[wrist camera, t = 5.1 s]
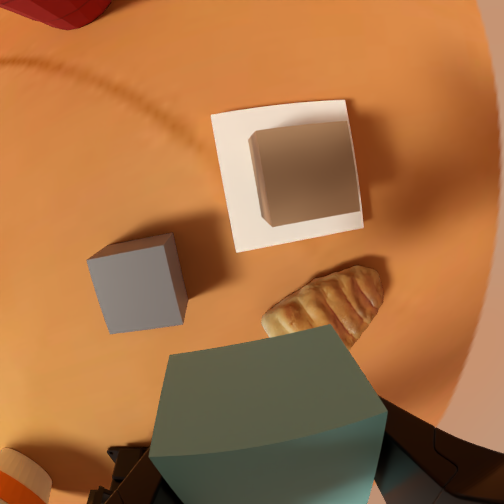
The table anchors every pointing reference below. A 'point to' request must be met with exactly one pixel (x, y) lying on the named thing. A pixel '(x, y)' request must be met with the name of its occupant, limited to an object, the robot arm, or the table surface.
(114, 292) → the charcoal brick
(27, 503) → the reusable coffee cup
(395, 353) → the table surface
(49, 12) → the plastic cup
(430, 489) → the robot arm
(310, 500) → the teal brick
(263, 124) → the base plate
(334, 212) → the walnut brick
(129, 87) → the table surface
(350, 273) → the pastry
